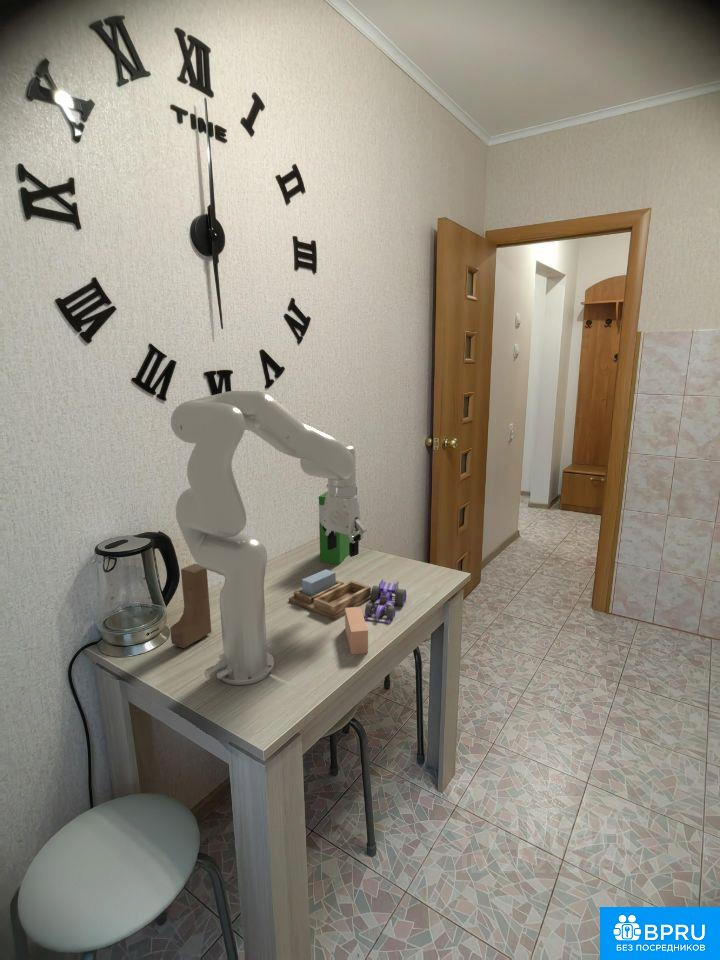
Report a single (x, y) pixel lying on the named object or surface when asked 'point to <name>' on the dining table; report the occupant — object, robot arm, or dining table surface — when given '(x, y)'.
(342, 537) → the hardback book
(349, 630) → the salmon orange rectangular block
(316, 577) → the light blue block
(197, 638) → the wooden block
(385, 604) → the toy race car
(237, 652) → the robot arm
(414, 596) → the dining table surface
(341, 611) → the jig
